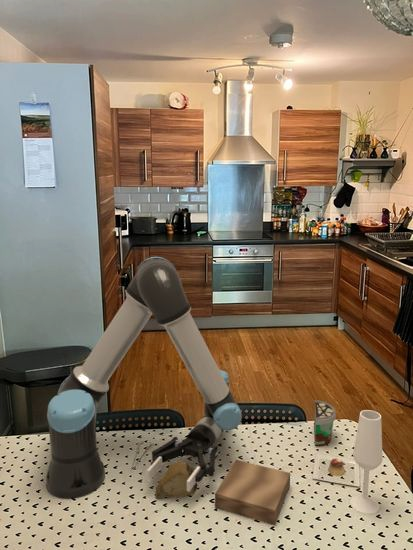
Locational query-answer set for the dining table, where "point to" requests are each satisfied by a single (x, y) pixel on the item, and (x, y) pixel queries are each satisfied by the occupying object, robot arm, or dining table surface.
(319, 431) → the food container
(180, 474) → the rock
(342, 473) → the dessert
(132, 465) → the tweezers
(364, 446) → the champagne flute
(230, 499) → the plinth
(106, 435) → the dining table surface
